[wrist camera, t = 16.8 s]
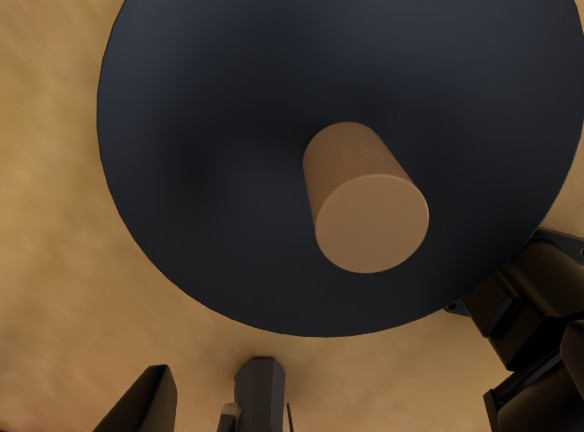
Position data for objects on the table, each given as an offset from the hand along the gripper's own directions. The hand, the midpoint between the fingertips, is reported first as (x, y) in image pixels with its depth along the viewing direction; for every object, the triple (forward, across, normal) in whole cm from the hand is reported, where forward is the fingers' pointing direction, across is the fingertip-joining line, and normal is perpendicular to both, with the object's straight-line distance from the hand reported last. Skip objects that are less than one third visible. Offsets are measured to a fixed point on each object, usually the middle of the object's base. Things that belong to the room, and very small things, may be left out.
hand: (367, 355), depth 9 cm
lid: (+6, 0, -2) cm, 6 cm away
